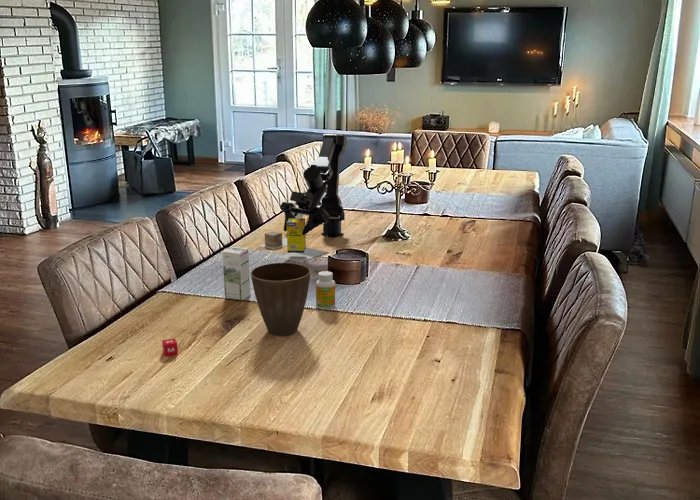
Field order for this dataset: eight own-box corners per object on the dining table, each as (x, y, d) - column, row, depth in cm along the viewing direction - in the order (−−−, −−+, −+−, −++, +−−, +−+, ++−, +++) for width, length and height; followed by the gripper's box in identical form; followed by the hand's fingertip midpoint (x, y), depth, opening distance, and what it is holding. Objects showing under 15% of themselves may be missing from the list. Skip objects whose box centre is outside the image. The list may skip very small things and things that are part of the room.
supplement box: (304, 253, 239) (303, 222, 236) (287, 253, 239) (286, 222, 236) (306, 248, 245) (305, 218, 241) (289, 248, 245) (288, 217, 242)
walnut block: (273, 242, 260) (273, 231, 259) (282, 244, 257) (282, 233, 256) (265, 245, 257) (264, 233, 255) (274, 247, 254) (273, 235, 253)
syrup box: (251, 294, 205) (249, 247, 201) (241, 301, 200) (239, 252, 196) (233, 292, 207) (231, 245, 203) (224, 299, 201) (221, 251, 198)
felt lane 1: (284, 238, 267) (284, 237, 267) (299, 241, 262) (299, 241, 262) (258, 246, 256) (258, 245, 256) (274, 249, 252) (274, 249, 252)
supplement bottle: (321, 310, 193) (320, 277, 190) (312, 304, 197) (312, 271, 195) (338, 307, 195) (338, 274, 193) (330, 301, 200) (329, 269, 197)
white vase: (281, 232, 275) (280, 203, 272) (289, 228, 282) (289, 199, 279) (298, 234, 272) (297, 204, 269) (306, 230, 279) (306, 201, 276)
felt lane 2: (307, 248, 254) (307, 247, 254) (328, 252, 248) (328, 252, 248) (278, 257, 242) (278, 257, 242) (299, 262, 236) (299, 262, 236)
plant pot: (288, 346, 169) (286, 284, 165) (240, 334, 177) (238, 274, 172) (322, 327, 181) (322, 268, 177) (277, 316, 189) (275, 259, 184)
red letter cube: (165, 356, 164) (164, 345, 163) (163, 351, 166) (162, 340, 165) (178, 354, 165) (177, 343, 164) (175, 349, 167) (174, 338, 167)
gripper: (282, 179, 244) (261, 215, 238) (324, 185, 233) (303, 223, 227) (297, 197, 252) (277, 233, 246) (338, 204, 241) (318, 241, 236)
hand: (293, 232), depth 239 cm, fingers closed on supplement box, 8 cm apart
